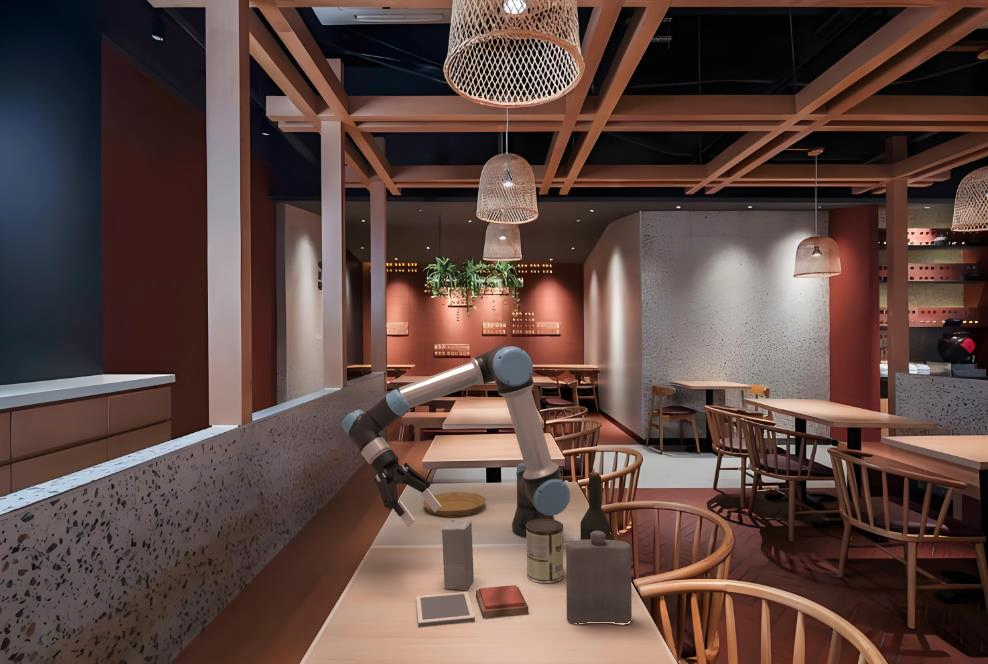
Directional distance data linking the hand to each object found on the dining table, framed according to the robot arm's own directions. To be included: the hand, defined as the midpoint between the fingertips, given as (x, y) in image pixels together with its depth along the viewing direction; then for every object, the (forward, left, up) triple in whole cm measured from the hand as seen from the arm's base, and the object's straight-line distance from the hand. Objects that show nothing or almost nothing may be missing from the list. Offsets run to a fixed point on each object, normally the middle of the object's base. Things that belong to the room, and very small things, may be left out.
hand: (425, 516), depth 151 cm
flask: (-38, +31, -17) cm, 52 cm away
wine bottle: (-43, +16, -17) cm, 49 cm away
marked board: (-3, +20, -17) cm, 26 cm away
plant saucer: (-14, -59, -17) cm, 63 cm away
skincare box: (-8, +6, -17) cm, 20 cm away
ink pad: (-17, +20, -17) cm, 31 cm away
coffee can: (-32, +6, -17) cm, 37 cm away
